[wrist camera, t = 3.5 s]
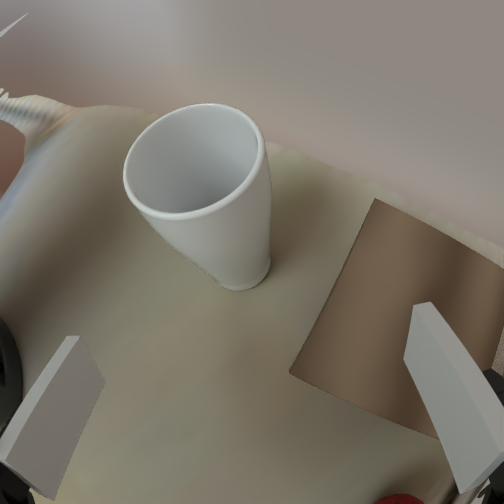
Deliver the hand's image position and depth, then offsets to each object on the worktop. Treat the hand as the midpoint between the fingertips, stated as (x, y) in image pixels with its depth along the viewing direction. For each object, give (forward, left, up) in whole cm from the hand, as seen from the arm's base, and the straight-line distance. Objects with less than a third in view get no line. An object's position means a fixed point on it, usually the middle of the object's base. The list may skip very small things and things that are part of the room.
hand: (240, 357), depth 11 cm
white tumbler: (-6, +6, -14) cm, 16 cm away
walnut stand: (+8, +6, -14) cm, 17 cm away
